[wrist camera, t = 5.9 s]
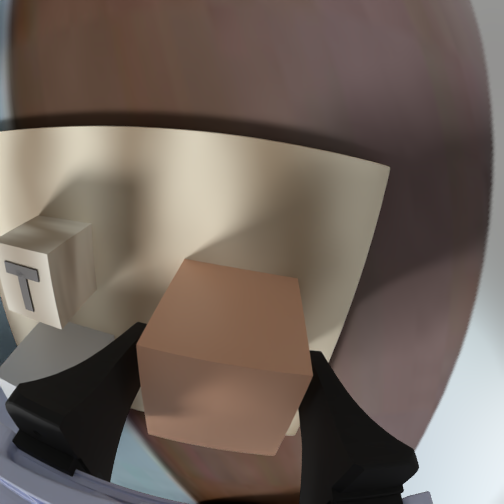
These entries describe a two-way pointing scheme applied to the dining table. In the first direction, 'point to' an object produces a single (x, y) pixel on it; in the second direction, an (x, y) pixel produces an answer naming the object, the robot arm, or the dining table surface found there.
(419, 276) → the dining table surface
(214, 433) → the terracotta cover
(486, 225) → the dining table surface
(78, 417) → the robot arm
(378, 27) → the dining table surface
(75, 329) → the grey cover
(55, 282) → the letter cube
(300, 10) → the dining table surface
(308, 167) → the birch board
